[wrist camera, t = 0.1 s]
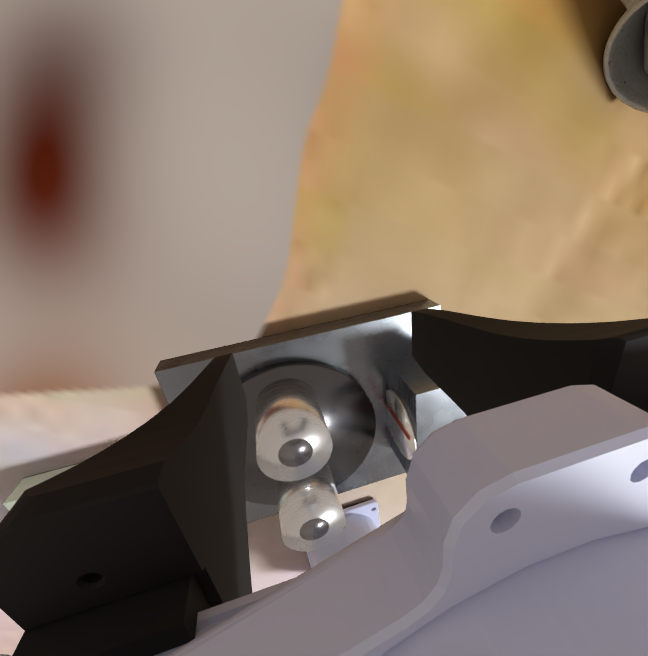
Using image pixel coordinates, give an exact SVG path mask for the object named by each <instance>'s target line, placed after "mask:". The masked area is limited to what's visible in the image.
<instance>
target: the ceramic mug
mask: <svg viewBox="0 0 648 656" xmlns="http://www.w3.org/2000/svg"><path fill="white" fill-rule="evenodd" d="M620 1H621V2H622V3H623V4H624V6H625V7H626V8H627V10H626V12H625V13H624V14H623V16H622V17H621V18H620V19H619V21H618V22H617V24H616V25H615V27H614V29H613V31H612V33H611V34H610V36H609V38H608V41H607V44H606V47H605V51H604V55H603V70H604V75H605V80H606V82H607V84H608V86H609V88H610V90H611V92H612V93H613V94H614V95H615V96H616V97H617V98H618V99H619V100H620V101H621V102H623V103H625V104H626V105H628V106H630V107H632V108H634V109H636V110H639V111H642V112H646V113H648V0H620Z"/></svg>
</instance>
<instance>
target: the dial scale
mask: <svg viewBox="0 0 648 656" xmlns="http://www.w3.org/2000/svg"><path fill="white" fill-rule="evenodd" d="M425 308H427V309H439V310H441V305H439V304H437V303H435V302H433V301H431V300H430V299H429V300H425V301H421V302H416V303H412V304H407V305H403V306H399V307H394V308H390V309H386V310H381V311H377V312H372V313H368V314H364V315H359V316H355V317H350V318H346V319H342V320H337V321H333V322H329V323H324V324H320V325H315V326H311V327H307V328H302V329H298V330H293V331H289V332H285V333H280V334H276V335H271V336H267V337H263V338H258V339H254V340H250V341H245V342H241V343H236V344H233V345H228V346H223V347H219V348H215V349H210V350H206V351H201V352H197V353H193V354H188V355H184V356H180V357H175V358H171V359H166V360H162V361H160V362H159V364H158V366H157V368H156V370H155V375H156V377H157V379H158V382H159V384H160V386H161V388H162V391H163V393H164V395H165V397H166V400H167V402H168V404H170V403H171V402H172V401H173V400H174V399H175V398H176V397H177V396H178V395H179V394H180V393H182V392H183V391H184V390H185V389H186V388H187V387H188V386H189V385H190V384H191V383H192V382H193V380H194V379H195V378H196V377H197V376H198V375H199V374H200V373H201V372H202V371H203V370H204V368H205V367H206V366H207V365H208V364H209V363H210V362H211V361H212V360H213V359H214V358H215V357H216V356H221V355H225V354H230V353H233V356H234V360H235V363H236V366H237V370H238V373H239V376H240V379H241V383H242V386H243V389H244V393H245V396H246V403H247V414H248V428H247V446H246V463H245V499H246V518H247V523H249V522H252V521H255V520H259V519H262V518H265V517H268V516H271V515H274V514H277V513H279V510H278V500H277V491H276V482H275V479H272V478H270V477H268V476H267V475H265V474H264V473H263V472H262V471H261V470H260V468H259V466H258V464H257V456H256V433H255V410H254V406H255V401H256V398H257V396H258V394H259V393H260V392H261V390H262V389H263V388H265V387H266V386H267V385H269V384H270V383H272V382H274V381H277V380H280V379H287V378H292V379H298V380H301V381H304V382H305V383H307V384H308V385H310V386H311V388H312V389H313V390H314V392H315V394H316V397H317V400H318V403H319V405H320V408H321V411H322V414H323V416H324V419H325V422H326V425H327V427H328V430H329V433H330V436H331V439H332V443H333V448H332V453H331V456H330V458H329V460H328V461H327V462H328V464H329V467H330V470H331V473H332V477H333V480H334V483H335V486H336V489H337V492H338V494H340V493H343V492H346V491H349V490H352V489H355V488H358V487H362V486H365V485H368V484H371V483H374V482H377V481H380V480H383V479H386V478H390V477H393V476H396V475H399V474H402V473H405V472H406V473H407V474H408V470H409V467H410V463H411V460H412V456H413V454H414V452H415V451H416V450H417V449H418V448H419V446H420V445H421V444H422V443H423V442H424V441H425V440H426V439H427V437H428V436H429V435H430V434H431V433H432V432H433V431H435V430H437V429H439V428H441V427H443V426H445V425H447V424H449V423H451V422H453V421H454V420H456V419H460V418H463V417H466V416H467V415H466V414H465V413H464V412H463V411H462V410H461V409H460V408H459V407H458V406H457V405H456V404H455V403H454V402H453V401H452V400H451V399H450V398H449V397H448V396H447V395H446V394H445V393H444V392H443V391H442V390H441V389H440V388H439V387H438V386H437V385H436V384H435V383H434V382H433V381H432V380H431V379H430V378H429V377H428V376H427V375H426V374H425V372H424V371H423V370H422V368H421V367H420V366H419V364H418V363H417V362H416V360H415V359H414V357H413V356H412V326H411V312H412V311H416V310H420V309H425Z"/></svg>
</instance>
